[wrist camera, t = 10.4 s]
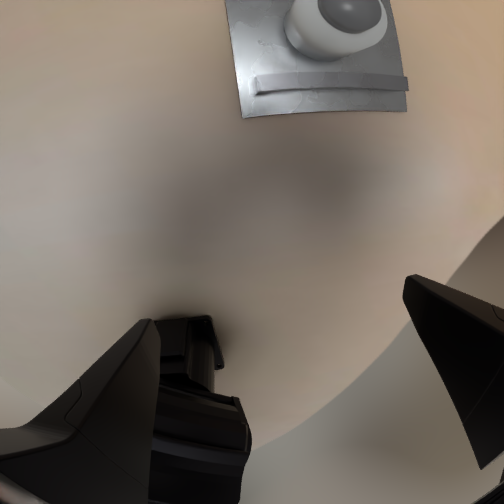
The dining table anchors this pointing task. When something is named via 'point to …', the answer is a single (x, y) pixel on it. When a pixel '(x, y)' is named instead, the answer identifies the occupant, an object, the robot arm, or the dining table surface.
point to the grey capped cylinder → (334, 27)
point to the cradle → (308, 67)
